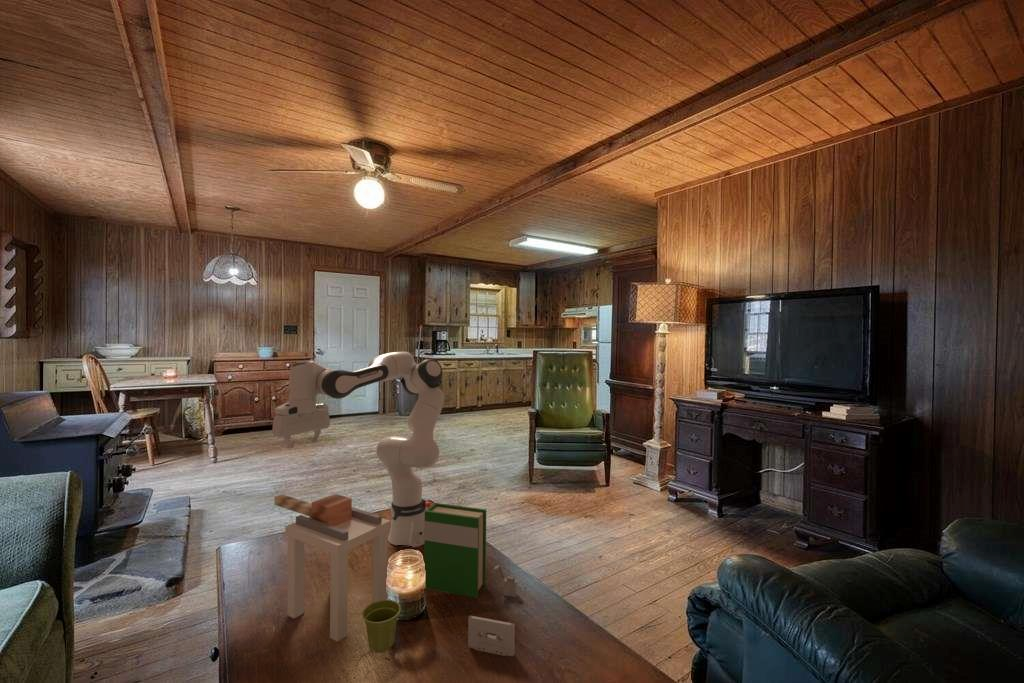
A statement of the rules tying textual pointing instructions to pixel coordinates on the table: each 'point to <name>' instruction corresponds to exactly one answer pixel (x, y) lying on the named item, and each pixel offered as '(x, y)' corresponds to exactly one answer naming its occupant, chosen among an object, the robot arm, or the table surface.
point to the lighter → (507, 583)
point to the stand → (336, 561)
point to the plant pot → (381, 623)
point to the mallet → (320, 508)
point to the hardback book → (455, 549)
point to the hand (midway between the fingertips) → (302, 445)
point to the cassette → (491, 636)
